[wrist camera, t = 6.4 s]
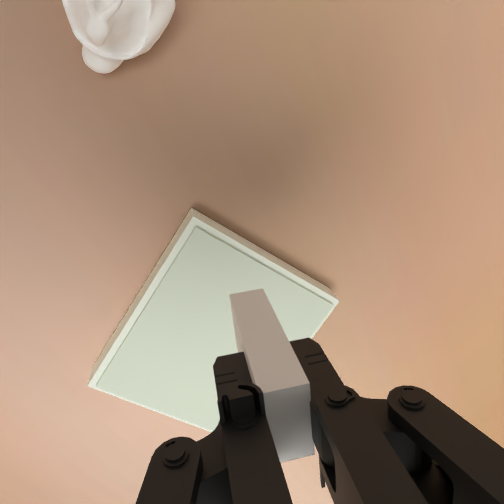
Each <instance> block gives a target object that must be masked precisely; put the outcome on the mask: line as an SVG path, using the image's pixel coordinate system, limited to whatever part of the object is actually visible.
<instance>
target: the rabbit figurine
mask: <svg viewBox="0 0 504 504" xmlns="http://www.w3.org/2000/svg"><path fill="white" fill-rule="evenodd" d="M62 3H63V6H64V9H65V12H66V15H67V18H68V20H69V23H70V25H71V28H72V31H73V33H74V35H75V36H76V38H77V39H78V41H79V42H80V43H81V44H82V45H83V47H82V57H83V60H84V62H85V64H86V65H87V66H88V67H89V68H90V69H91V70H93V71H95V72H97V73H102V74H105V73H110V72H112V71H114V70H115V69H116V68H118V67H119V66H120V64H121V63H122V62H123V60H129V59H132V58H135V57H137V56H139V55H141V54H143V53H146V52H147V51H149V50H150V48H151V47H152V46H153V45H154V44H155V42H156V41H157V40H158V39H159V38H160V36H161V35H162V33H163V31H164V30H165V28H166V27H167V25H168V24H169V22H170V20H171V18H172V15H173V13H174V11H175V0H62Z"/></svg>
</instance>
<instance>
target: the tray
mask: <svg viewBox="0 0 504 504" xmlns="http://www.w3.org/2000/svg"><path fill="white" fill-rule="evenodd" d="M262 288H263V290H264V292H265V294H266V296H267V298H268V300H269V302H270V304H271V306H272V308H273V310H274V312H275V314H276V316H277V318H278V320H279V322H280V324H281V326H282V328H283V330H284V332H285V334H286V336H287V338H288V340H289V341H294V340H299V339H304V338H311V339H312V338H313V336H314V335H315V333H316V332H317V331H318V329H319V328H320V327H321V325H322V324H323V323H324V321H325V320H326V319H327V317H328V316H329V315H330V313H331V312H332V311H333V309H334V308H335V307H336V305H337V304H338V303H339V299H338V298H337V297H336V296H335V295H334V294H333V292H332V291H331V290H330V289H329V288H328V287H327V286H325V285H323V284H321V283H320V282H318V281H316V280H315V279H313V278H311V277H309V276H308V275H306V274H304V273H303V272H301V271H299V270H297V269H296V268H294V267H292V266H291V265H289V264H287V263H285V262H284V261H282V260H280V259H279V258H277V257H275V256H273V255H272V254H270V253H268V252H267V251H265V250H263V249H261V248H260V247H258V246H256V245H255V244H253V243H251V242H249V241H248V240H246V239H244V238H243V237H241V236H239V235H237V234H236V233H234V232H232V231H231V230H229V229H227V228H225V227H224V226H222V225H220V224H219V223H217V222H215V221H214V220H212V219H210V218H208V217H207V216H205V215H203V214H202V213H200V212H198V211H196V210H195V209H193V208H191V209H190V211H189V212H188V214H187V216H186V217H185V219H184V220H183V222H182V224H181V225H180V227H179V228H178V230H177V232H176V233H175V235H174V237H173V238H172V240H171V241H170V243H169V245H168V246H167V248H166V249H165V251H164V253H163V254H162V256H161V257H160V259H159V261H158V262H157V264H156V266H155V267H154V269H153V270H152V272H151V274H150V275H149V277H148V278H147V280H146V282H145V283H144V285H143V287H142V288H141V290H140V291H139V293H138V295H137V296H136V298H135V299H134V301H133V303H132V304H131V306H130V308H129V309H128V311H127V312H126V314H125V316H124V317H123V319H122V320H121V322H120V324H119V325H118V327H117V328H116V330H115V332H114V333H113V335H112V337H111V338H110V340H109V341H108V343H107V345H106V346H105V348H104V349H103V351H102V353H101V354H100V356H99V358H98V359H97V361H96V362H95V364H94V366H93V368H92V372H91V375H90V378H89V382H88V385H87V386H88V387H91V388H94V389H96V390H99V391H102V392H104V393H107V394H110V395H112V396H115V397H118V398H120V399H123V400H126V401H129V402H131V403H134V404H137V405H139V406H142V407H145V408H147V409H150V410H153V411H155V412H158V413H161V414H164V415H166V416H169V417H172V418H174V419H177V420H180V421H182V422H185V423H188V424H190V425H193V426H196V427H199V428H201V429H204V430H207V431H209V432H213V431H214V430H215V428H216V427H217V425H218V423H219V420H220V415H219V410H218V404H217V400H218V398H217V391H216V384H215V377H214V371H213V365H214V363H215V360H216V358H217V357H219V356H224V355H229V354H234V353H238V350H237V345H236V338H235V331H234V324H233V317H232V310H231V303H230V296H229V294H234V293H239V292H245V291H250V290H256V289H262Z"/></svg>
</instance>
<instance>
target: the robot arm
mask: <svg viewBox="0 0 504 504" xmlns="http://www.w3.org/2000/svg"><path fill="white" fill-rule="evenodd" d="M229 296H230V303H231V310H232V317H233V324H234V331H235V338H236V345H237V350H238V353H234V354H229V355H224V356H219V357H217V358H216V360H215V363H214V365H213V371H214V377H215V384H216V391H217V398H218V400H217V404H218V410H219V415H220V420H219V423H218V425H217V427H216V428H215V430H214V431H213V432H212V433H210V434H209V435H208V436H206V437H205V438H203V439H201V440H199V441H197V442H196V441H194V440H193V439H191V438H188V437H177V438H172V439H170V440H168V441H166V442H164V443H162V444H161V445H160V446H159V447H158V448H157V449H156V450H155V452H154V454H153V456H152V458H151V461H150V463H149V466H148V469H147V472H146V475H145V478H144V481H143V484H142V487H141V490H140V492H139V495H138V498H137V501H136V504H293V503H292V500H291V497H290V493H289V490H288V487H287V483H286V480H285V477H284V473H283V470H282V467H281V462H286V461H290V460H294V459H298V458H302V457H306V456H311V455H315V452H314V444H315V446H316V449H317V451H318V453H319V464H320V480H321V487H322V488H323V487H325V482H326V484H327V487H328V489H329V492H330V494H331V497H332V499H333V502H334V504H504V448H502V447H501V446H500V445H498V444H497V443H496V442H494V441H493V440H492V439H490V438H489V437H488V436H486V435H485V434H484V433H482V432H481V431H480V430H478V429H477V428H476V427H474V426H473V425H472V424H470V423H469V422H468V421H466V420H465V419H463V418H462V417H461V416H459V415H458V414H457V413H455V412H454V411H453V410H451V409H450V408H449V407H447V406H446V405H445V404H443V403H442V402H441V401H439V400H438V399H437V398H435V397H434V396H433V395H431V394H430V393H429V392H427V391H425V390H423V389H421V388H418V387H414V386H400V387H396V388H394V389H393V390H391V391H390V392H389V395H388V397H387V399H369V398H363V397H360V396H359V395H358V394H357V393H356V392H355V391H354V390H353V389H352V388H349V387H347V386H344V384H343V382H342V381H341V379H340V378H339V376H338V374H337V373H336V371H335V369H334V368H333V366H332V365H331V363H330V361H328V358H327V356H326V355H325V354H324V351H323V350H322V348H321V347H320V345H319V344H318V343H317V342H315V341H314V340H312V339H311V338H304V339H299V340H294V341H289V340H288V338H287V336H286V334H285V332H284V330H283V328H282V326H281V324H280V322H279V320H278V318H277V316H276V314H275V312H274V310H273V308H272V306H271V304H270V302H269V300H268V298H267V296H266V294H265V292H264V290H263V288H262V289H256V290H250V291H245V292H239V293H234V294H229Z"/></svg>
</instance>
